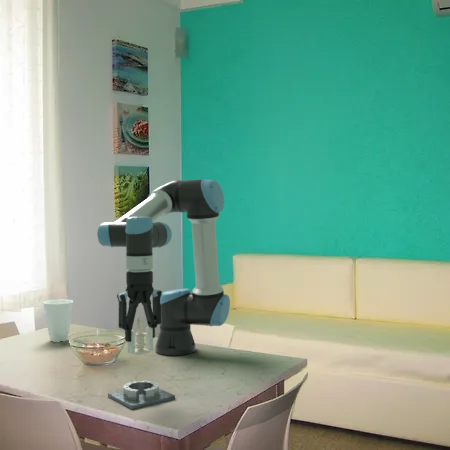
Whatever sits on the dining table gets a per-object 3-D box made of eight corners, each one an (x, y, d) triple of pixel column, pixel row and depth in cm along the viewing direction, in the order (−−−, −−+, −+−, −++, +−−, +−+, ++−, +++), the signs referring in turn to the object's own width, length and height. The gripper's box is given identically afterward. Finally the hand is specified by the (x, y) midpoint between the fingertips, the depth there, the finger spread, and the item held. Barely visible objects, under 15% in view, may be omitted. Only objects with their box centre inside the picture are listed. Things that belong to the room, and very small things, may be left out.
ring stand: (108, 396, 174) (107, 384, 174) (149, 387, 183) (149, 375, 183) (131, 409, 163) (131, 396, 163) (175, 398, 172) (174, 386, 172)
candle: (127, 353, 171) (127, 317, 170) (136, 349, 176) (136, 314, 175) (144, 354, 169) (143, 318, 169) (152, 350, 174) (152, 315, 173)
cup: (38, 343, 242) (38, 303, 242) (52, 336, 254) (51, 299, 254) (66, 343, 241) (65, 304, 240) (78, 337, 252) (77, 299, 252)
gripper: (117, 273, 163) (118, 358, 164) (173, 269, 174) (174, 348, 175) (104, 271, 169) (105, 353, 170) (159, 267, 180) (160, 344, 181)
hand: (140, 351), depth 172 cm, fingers closed on candle, 5 cm apart
